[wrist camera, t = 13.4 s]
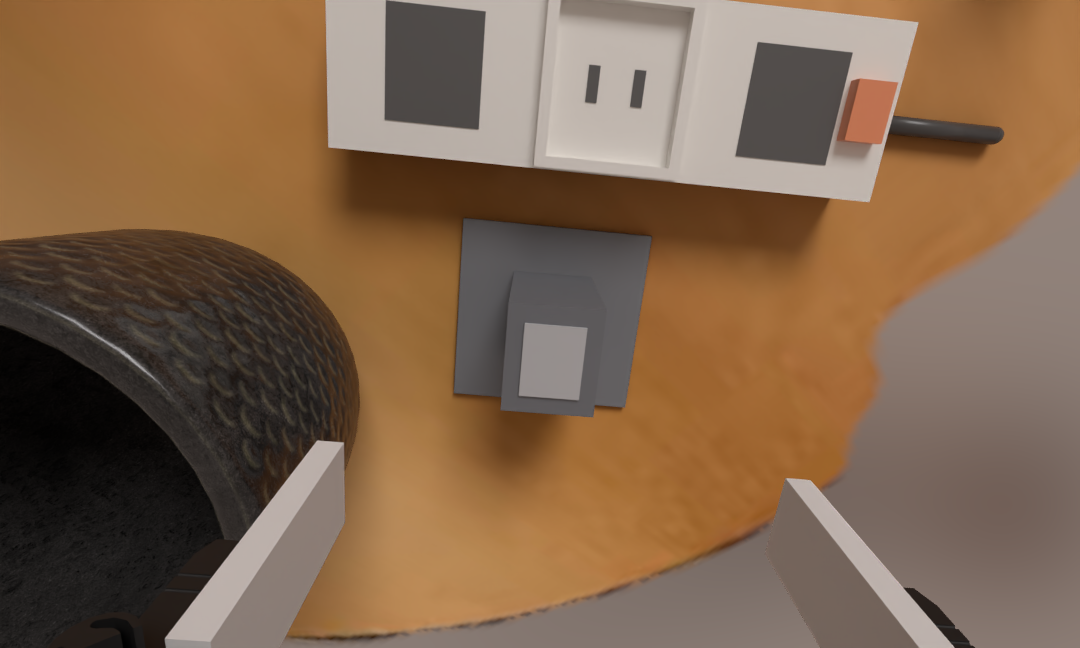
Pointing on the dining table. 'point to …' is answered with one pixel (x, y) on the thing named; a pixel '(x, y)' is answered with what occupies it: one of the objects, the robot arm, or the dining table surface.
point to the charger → (552, 344)
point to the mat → (550, 251)
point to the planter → (148, 412)
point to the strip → (629, 89)
